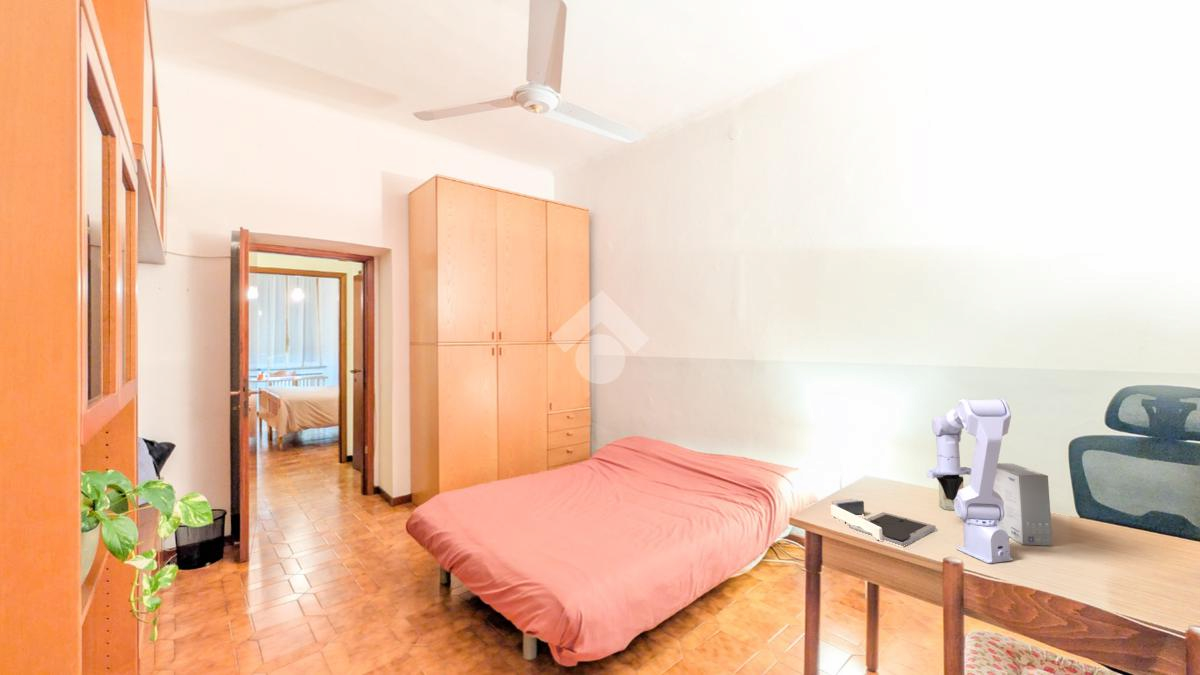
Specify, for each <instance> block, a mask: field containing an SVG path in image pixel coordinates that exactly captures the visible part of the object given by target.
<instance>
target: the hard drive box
mask: <svg viewBox="0 0 1200 675" xmlns="http://www.w3.org/2000/svg"><path fill="white" fill-rule="evenodd" d="M1049 487H1050V486H1049V475H1047V474H1044V473H1041V472H1038V471H1035V470H1034V469H1033V470H1032V469H1031V468H1027V467H1023V466H1021V465H1018V464H1015V463H1000V462H998V464H997V470H996V475H995V481H994V486H993V490H994V491H995V492H997V493H998V494H999V495H1000V497H1001V498H1002V500H1003V502H1004V518H1003V519H1002V521H1000V522H999V525H997V526H998V527H999V528H1001V529H1002V530H1004V531H1005V532H1006V533H1007V534H1008V537H1009V538H1010V539H1012V540H1014V541H1016V542H1018V543H1019V544H1021V545H1024V546H1028V545H1029V546H1045V547H1046V546H1049V547H1053V533H1052V532H1053V531H1052V530H1053V529H1052V518H1051V517H1052V516H1051V505H1050V504H1051V502H1050V488H1049Z"/></svg>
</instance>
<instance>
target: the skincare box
mask: <svg viewBox="0 0 1200 675" xmlns="http://www.w3.org/2000/svg"><path fill="white" fill-rule="evenodd" d="M959 476H960V477H963V478H964V476H963V475H959ZM962 488H964V481H963V482H962V483H961V485H960V487H959V489H958V490H960V489H962ZM957 493H958V492H957ZM938 496H939V497H938V501H939V502H938V504H939V507H941V508H942V509H943V510H947V511H955V509H954V500H950V499H947V498H946V496H945V493H944V490H943V488H942V486H941V484H940V482H939V481H938Z"/></svg>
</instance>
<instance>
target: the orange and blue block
mask: <svg viewBox="0 0 1200 675" xmlns="http://www.w3.org/2000/svg"><path fill="white" fill-rule="evenodd" d="M854 501H860V500H858V499H854V498H849V499H848V498H847V499H839V500H832V501H831V505H835V506H837V503H845V502H854Z"/></svg>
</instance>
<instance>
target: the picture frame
mask: <svg viewBox="0 0 1200 675" xmlns="http://www.w3.org/2000/svg"><path fill="white" fill-rule="evenodd" d="M865 520H866V521H869V522H871V523H873V524H875V525H877V526H879V527H881V528H882V537H883V540H886V541H889V542H892V543H895V544H898V545H901V546H904V545H906V544H909V543H911V542H912V543H914V542H916V541H918V540H920V539H922V538H924V537H926V536H927V534H928V535H930V534H931V532H932V533H933V531H934V532H936V531H935V530H937V528H936V525H934V524H931V523H926V522H922V521H919V520H915V519H911V518H907V517H904V516H899V515H896V514H892V513H889V512H885V511H882V512H879V513H877V514H876V515H875V514H874V515H873V516H871V517H869V518H868V519H865ZM848 526H849V525H848ZM849 528H851V529H854V530H856V531H859V532H862V533H865V534H868V535H871V536H872V533H870V532H868V531H866V530H864V529H863V528H861V527H859V526H857V525H855V524H854V525H851V526H849V527H848V529H849ZM929 533H930V534H929ZM925 535H926V536H925ZM923 536H924V537H923ZM921 537H922V538H921ZM919 538H920V539H919ZM917 539H918V540H917ZM915 540H916V541H915ZM913 541H914V542H913ZM912 543H911V544H912ZM909 545H910V544H909Z"/></svg>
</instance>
